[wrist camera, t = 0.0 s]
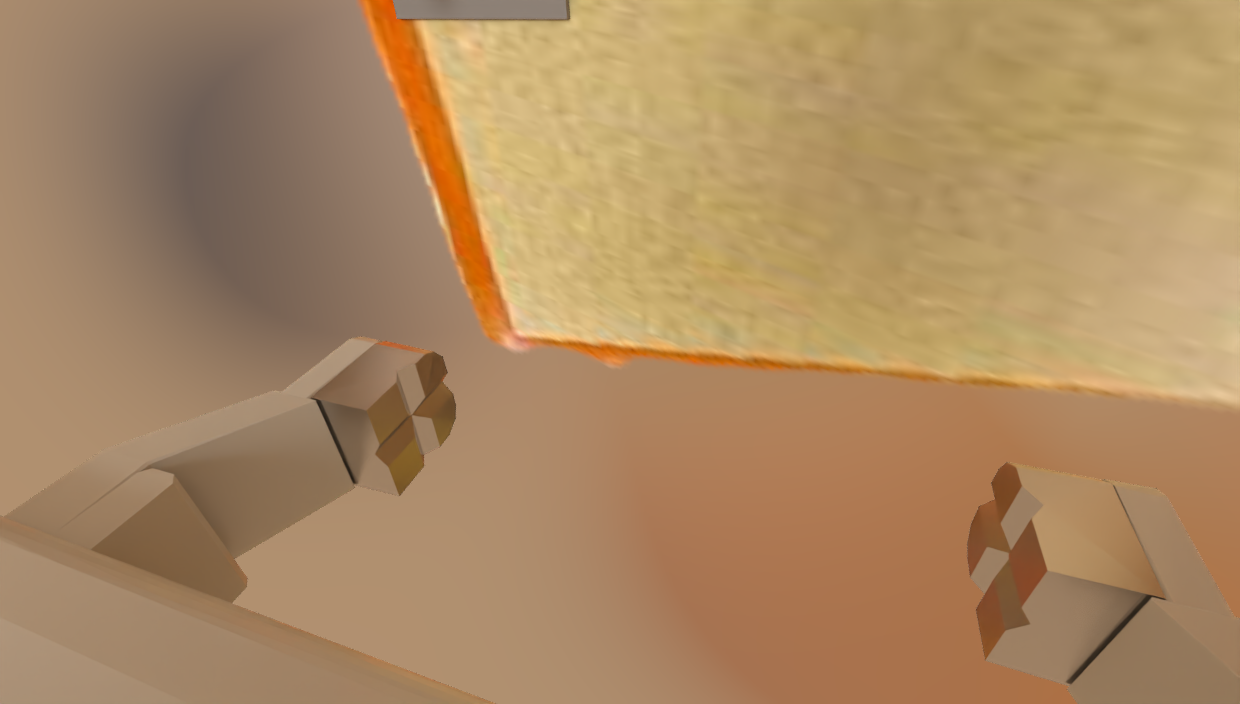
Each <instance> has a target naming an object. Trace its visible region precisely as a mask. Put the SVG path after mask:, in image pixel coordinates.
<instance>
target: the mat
mask: <svg viewBox="0 0 1240 704" xmlns="http://www.w3.org/2000/svg"><path fill="white" fill-rule="evenodd" d="M393 3H394V7H395V12H396V16H397V19H570V15H569V1H568V0H393Z"/></svg>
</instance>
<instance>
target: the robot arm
mask: <svg viewBox="0 0 1240 704" xmlns="http://www.w3.org/2000/svg"><path fill="white" fill-rule="evenodd" d="M447 373H448V372H447V369H446V366H445V362H444V359H443V356H441V355H439V354H437V353H435V352H433V351H428V350H424V349H419V348H415V347H410V346H406V345H401V344H396V343H392V342H387V341H379V340H375V339H371V338H367V337H362V336H361V337H355V338H350V339H349V340H348V341H347V342H345V343H344V344H343V345H341V346H340V347H339V348H337V349H336V350H335V351H334V352H332V353H331V354H330V355H328V356H327V357H326V358H325V359H323V360H322V361H321V362H319V363H318V364H317V365H316V366H314V367H313V368H312V369H311V370H309V371H308V372H307V373H306V374H304V375H303V376H302V377H300V378H299V379H298V380H296V381H295V382H294V383H293V384H291V385H290V386H289V387H288V388H286V389H285V390H284V391H282V392H278V391H271V392H268V393H265V394H262V395H259V396H257V397H254V398H251V399H248V400H245V401H242V402H239V403H236V404H233V405H231V406H228V407H225V408H222V409H219V410H216V411H213V412H210V413H207V414H204V415H201V416H199V417H196V418H193V419H190V420H187V421H184V422H181V423H178V424H175V425H173V426H170V427H167V428H164V429H161V430H158V431H155V432H152V433H149V434H146V435H144V436H141V437H138V438H135V439H132V440H129V441H126V442H123V443H120V444H117V445H115V446H112V447H109V448H106V449H103V450H101V451H100V452H99V453H97V454H95V455H94V456H93V457H91V458H90V459H88V460H87V461H85V462H84V463H82V464H81V465H79V466H78V467H76V468H75V469H73V470H72V471H70V472H69V473H68V474H66V475H65V476H63V477H62V478H60V479H59V480H57V481H56V482H54V483H53V484H51V485H50V486H48V487H47V488H45V489H44V490H42V491H41V492H40V493H38V494H36V495H35V496H33V497H32V498H30V499H29V500H28V501H26V502H25V503H23V504H22V505H20V506H19V507H17V508H16V509H15V510H13V511H11V512H10V513H8V514H7V515H5V516H4V517H3V516H0V704H496V703H493V702H490V701H488V700H485V699H483V698H480V697H477V696H475V695H472V694H470V693H467V692H464V691H462V690H459V689H456V688H454V687H451V686H449V685H446V684H443V683H441V682H438V681H435V680H433V679H430V678H427V677H425V676H422V675H420V674H417V673H414V672H412V671H409V670H406V669H404V668H401V667H398V666H396V665H393V664H390V663H388V662H385V661H383V660H380V659H377V658H375V657H372V656H369V655H367V654H364V653H362V652H359V651H356V650H354V649H351V648H348V647H346V646H343V645H340V644H338V643H335V642H332V641H330V640H327V639H324V638H322V637H319V636H317V635H314V634H311V633H309V632H306V631H303V630H301V629H298V628H296V627H293V626H290V625H288V624H285V623H282V622H280V621H277V620H275V619H272V618H269V617H267V616H264V615H261V614H259V613H256V612H253V611H251V610H248V609H246V608H243V607H240V606H238V605H235V604H232V603H233V601H234V600H235V599H236V598H237V597H238V596H239V595H240V594H241V593H242V592H243V591H244V590H245V588H246V587H247V579H248V578H247V576H246V575H245V574H244V572H243V571H242V569H241V568H240V567H239V565H238V564H237V562H236V561H235V560H234V559H235V558H237V557H238V556H240V555H242V554H244V553H245V552H247V551H249V550H251V549H252V548H254V547H256V546H257V545H259V544H261V543H262V542H264V541H266V540H268V539H269V538H271V537H273V536H274V535H276V534H278V533H279V532H281V531H283V530H285V529H286V528H288V527H290V526H291V525H293V524H295V523H296V522H298V521H300V520H301V519H303V518H305V517H306V516H308V515H310V514H312V513H313V512H315V511H317V510H318V509H320V508H322V507H324V506H325V505H327V504H328V503H330V502H332V501H334V500H335V499H337V498H339V497H341V496H342V495H344V494H346V493H347V492H349V491H351V490H352V489H354V488H355V486H354V485H356V486H360V487H364V488H368V489H372V490H376V491H380V492H384V493H388V494H392V495H397V496H400V495H401V494H402V493H403V491H404V490H405V489H406V488H407V486H408V485H409V484H410V483H411V482H412V481H413V479H414V478H415V477H416V476H417V474H418V473H419V472H420V471H421V470H422V468H423V467H424V455H425V454H427V453H429V452H431V451H433V450H435V449H437V448H439V447H440V446H441V445H442V444H443V443H444V441H445V440H446V439H447V437H448V436H449V435H450V432H451V430H452V427H453V424H454V422H455V419H456V403H455V399H454V395H453V393H452V392H451V391H450V390H449V388H448V387H447V386H446V385H445V384H444V383H443V380H444V378H445V377H446V375H447ZM991 484H992V488H993V493H994V497H995V499H994V500H992V501H990V502H988V503H985V504H983V505H981V506H979V507H978V510H977V512H976V514H975V516H974V519H973V521H972V523H971V527H970V532H969V537H968V542H967V559H968V567H969V573H970V578H971V579H972V580H973V581H974V582H975V584H976V585H977V586H978V587H979V588H980V589H981V590H982V592H984V594H985V595H984V596H983V598H982V599H981V601H980V603H979V605H978V606H977V608H976V614H977V618H978V624H979V630H980V635H981V640H982V645H983V652H984V657H985V661H988V662H992V663H995V664H998V665H1001V666H1005V667H1008V668H1011V669H1015V670H1018V671H1021V672H1024V673H1028V674H1031V675H1034V676H1038V677H1041V678H1044V679H1048V680H1051V681H1054V682H1057V683H1061V684H1064V685H1067V686H1069V687H1068V689H1067V690H1068V691H1069V693H1070V694H1071V695H1072V697H1073V698H1074V699H1075V701H1076V702H1077V703H1078V704H1240V618H1237V617H1234V615H1233V613H1232V611H1231V610H1230V608H1229V606H1228V604H1227V603H1226V601H1225V599H1224V597H1223V595H1222V594H1221V592H1220V590H1219V588H1218V586H1217V585H1216V583H1215V581H1214V579H1213V578H1212V576H1211V574H1210V572H1209V570H1208V569H1207V567H1206V565H1205V563H1204V562H1203V560H1202V558H1201V556H1200V554H1199V553H1198V551H1197V549H1196V547H1195V546H1194V544H1193V542H1192V540H1191V538H1190V537H1189V535H1188V533H1187V531H1186V530H1185V528H1184V526H1183V524H1182V522H1181V521H1180V519H1179V517H1178V515H1177V514H1176V512H1175V510H1174V508H1173V507H1172V505H1171V503H1170V501H1169V499H1168V498H1167V497H1166V496H1165V495H1164V494H1163V493H1162V492H1160V491H1159V490H1158V489H1156V488H1151V487H1145V486H1140V485H1134V484H1128V483H1122V482H1117V481H1111V480H1105V479H1104V480H1099V479H1095V478H1090V477H1085V476H1080V475H1074V474H1069V473H1063V472H1058V471H1053V470H1048V469H1042V468H1037V467H1031V466H1026V465H1021V464H1015V463H1010V462H1006V463H1005V464H1004V465H1003V466H1002V467H1000V468H999V469H998V471H997V473H996V475H995V477H994V479H993V480H992V482H991Z"/></svg>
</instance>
